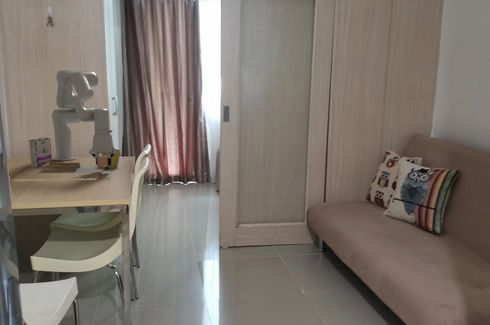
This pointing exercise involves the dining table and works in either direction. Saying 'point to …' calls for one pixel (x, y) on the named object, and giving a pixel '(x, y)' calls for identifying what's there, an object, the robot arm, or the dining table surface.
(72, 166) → the frame
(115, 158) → the plant pot
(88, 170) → the deck
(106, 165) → the cube
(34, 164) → the candy bar box
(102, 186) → the dining table surface
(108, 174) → the pad
